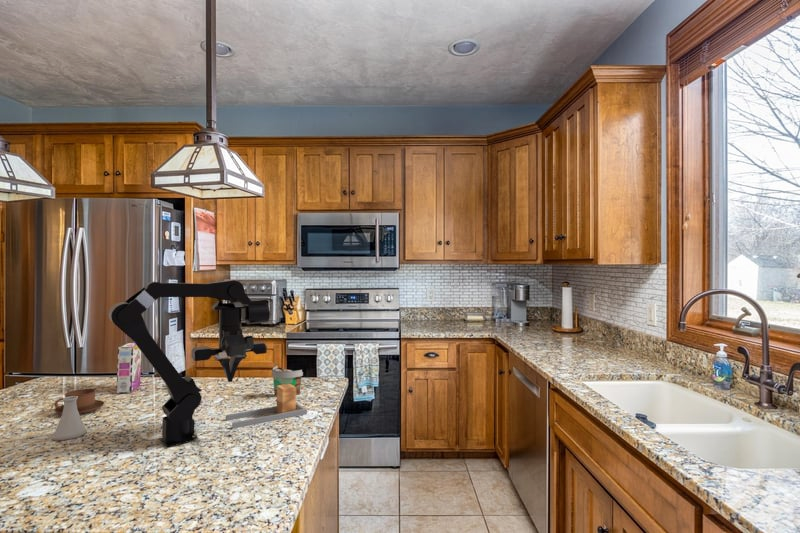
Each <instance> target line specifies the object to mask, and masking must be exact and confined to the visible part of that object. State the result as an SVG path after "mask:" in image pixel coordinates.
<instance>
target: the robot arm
mask: <svg viewBox="0 0 800 533" xmlns="http://www.w3.org/2000/svg"><path fill="white" fill-rule="evenodd" d="M159 298H209V299H210V298H211V299H216V300H217V301H216V302H215V303H214V304H213V305H212V306H211V307H210V308H211V310H213V311H219V312H218V314H219V317H218V318H219V320H218V321H219V322H218V323H219V324H218V326H219V327H218V348H210V346H208V345H205V346H196V347H195V346H194V347H193V348H192V349H191V353H190V354H191V359H192V360H193V361H195V362H201V361H207V360H208V361H209V360H210V358H212V357H213V359H215V360H216V361H217V362H219V363H220V365H221V367H222V369H223V372H224V374H225V378H226V379H227V382H228V383H232V382H233V380H234V377H235V374H236V372H237V368H238V366H239V365H240V363H241V361H242V360H244V359H246V358H247V356H246V355H247V353H249V352H250V353H251V352H253V353H254V354H255V355H261V354H263V355H265V354H267V353H268V351H267V349H268V347H267V344H266V343H265V342H263V341H259V340H257V341H255V339H254V338H255V337H254V336H253V335H246V336H244V335H243V328H242V321H244V322H245V323H246V324H247V325H250V324H263V323H265V324H266V323H268V322H269V321H270V316H271V311H270V308H269V305H268V304H267V302H268V301H267V299H266V298H265V299H264V298H263V299H262V298H260V299H253V300H251V299H250V298H249V296H248V295H247V293H246V292H245V287H244V285H243V284H242V282H240V281H239V280H235V279H225V280H224V279H223V280H218V281H212V282H204V283H199V282H198V283H197V282H196V283H193V282H192V283H190V282H160V281H159V282H158V281H149V282H147V283H146V284H145V285H144V286H143V287H142V288H141V289H140V290H138V291H137V292H136V293H134V294H132V295H131V296H130V297H129V298H127V299H126V300H125V301H122V302H121V301H120V302H117V303H115V304H114V305H113V306H111V308H110V309H109V311H108V319H109V320H110V321H111V322H112V323H113V324H114V325H115V326H116V328H117V327H118V328H119V330H121V331H122V332H123V333H124V334H125V335H126V336H127V337H128V338H130V339H131V340H132V341H133V343H135V344H136V345H137V347H138V348H139V349H140V351H141V354H142V355H143V357H145V359H146V360H147V361H148V362H149V364H150V365H151V366H152V367H153V370H154V371H155V372H156V373H157V375H158V376H159V377H160V379H162V381H163V382H164V385H165V387H166V390H167V392H168V394H169V397H170V398H169V399H168V400H166V401H165V403H164V404H163V405H162V406H161V409H162V412H163V414H164V415H165V416H163V417H162V424H161V427H162V428H161V431H162V432H161V437H159V441H160V442H161V443H162V444H163V445H164V446H165V447H166V448H170V447H174V446H177V445H182V444H185V443H189V442H193V441H195V440H196V439H195V437H194V436H195V425H196V423H195V419H194V417H193V416H194V413H195V411H196V410H197V409H198V407H199V406H200V404H201V402H202V394H201V392H202V389H201V388H200V387H198V386H197V384H196V382H195V380H194V378H192V377H191V376H190V375H189V374H185V375H184V377H183V376H181V375H180V372H178V370H177V369H176V367H175V366H174V365H173V364H172V362H171V361H170V360H169V358H168V357H167V355H166V354H165V352H164V351H163V350H162V349H161V347H160V346H159V345H158V343H157V342H156V340H155V339H154V338H153V336H152V335H151V334H150V332H149V330H148V328H147V324H146V322H145V320H144V317H143V316H142V315H143V314H144V312H146V311H147V310H148V308H150V306H152V305H153V304H154V303H155V302H156V301H157V300H158V299H159ZM222 300H223V301H228V302H224V303H223V302H222ZM235 304H241V305H235Z"/></svg>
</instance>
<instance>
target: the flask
mask: <svg viewBox="0 0 800 533" xmlns="http://www.w3.org/2000/svg"><path fill="white" fill-rule="evenodd" d="M62 398H63V400H62V402H63V405H64V408H63V413H62V415H60V419H59V421H58V424H57V426H56V429H55V430H54V433H53V435H52V437H51V440H53V441H65V440H71V439H77V438H79V437H81V436H83V435H85V434H86V433H87V429H86V426H85V423H84V422H83V420H82V417H81V414H80V415H79V412H78V409H77V404H76V400H77V398H78V396H69V397H65V396H64V397H62Z"/></svg>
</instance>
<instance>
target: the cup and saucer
mask: <svg viewBox="0 0 800 533" xmlns="http://www.w3.org/2000/svg"><path fill="white" fill-rule="evenodd" d="M69 396H78V398H77V400H76V404H77V409H78V412H79V415H80V416H81V415H85V414H88V413H89V414H90V413H92V412H95V411H97V410H100V409H101V408H102V407H103V406H104V405H105V402H104V400H99V399H96V389H94V388H81V389H75V390H70V391H67V392H66V393H65V395H64V397H61V398H58V399H57V400H56V401H55V402H54V407H55V408H54V411H55V413H56V414H57V415H60V416H62V413H63V408H64V404H62V405H58V403H59V402H61V401H63V398H65V397H69Z"/></svg>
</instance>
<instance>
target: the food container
mask: <svg viewBox="0 0 800 533" xmlns="http://www.w3.org/2000/svg"><path fill="white" fill-rule="evenodd" d="M270 375H271V377H272V379H273V393H274V396H277V386H278V385H284V384H291V385H293V386H294V387H296V396H298V395H300V394H301V387H302V386H301V385H302V376H304V372H303V369H298V370H293V369H289V368H287V369H284V368H282V369H281V368H279V367H278V365H276V366H273V368H272V369H271V373H270Z"/></svg>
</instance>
